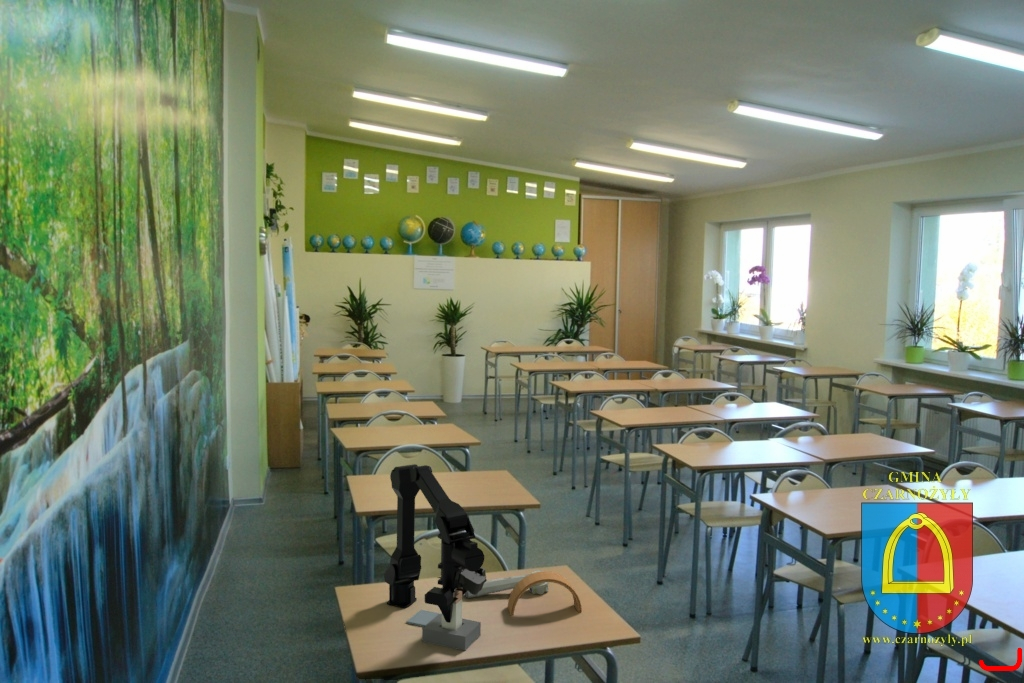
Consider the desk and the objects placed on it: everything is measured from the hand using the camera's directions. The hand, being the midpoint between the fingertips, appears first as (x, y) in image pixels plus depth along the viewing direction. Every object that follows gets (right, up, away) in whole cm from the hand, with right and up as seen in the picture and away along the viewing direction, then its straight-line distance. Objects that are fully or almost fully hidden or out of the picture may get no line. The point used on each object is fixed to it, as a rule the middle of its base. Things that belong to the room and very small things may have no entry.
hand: (451, 619), depth 190 cm
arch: (+24, -5, +19) cm, 31 cm away
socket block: (0, -5, 0) cm, 5 cm away
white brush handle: (+14, -4, +29) cm, 33 cm away
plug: (0, -5, 0) cm, 5 cm away
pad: (-8, -4, +11) cm, 14 cm away
